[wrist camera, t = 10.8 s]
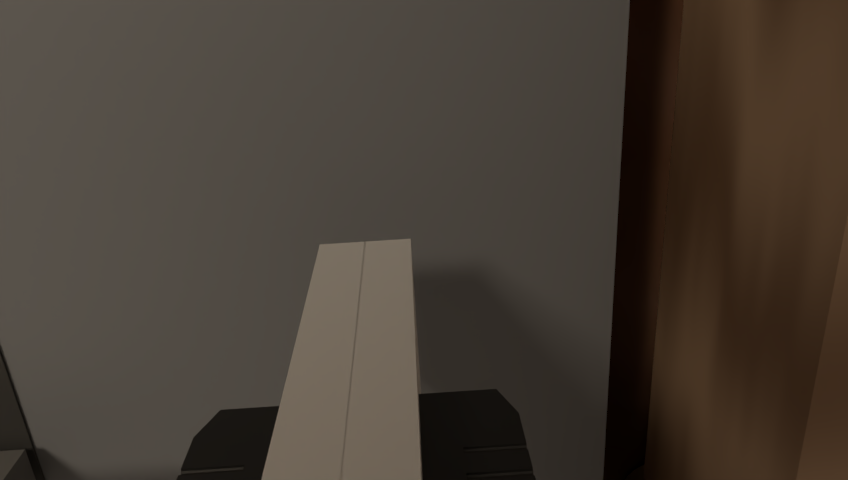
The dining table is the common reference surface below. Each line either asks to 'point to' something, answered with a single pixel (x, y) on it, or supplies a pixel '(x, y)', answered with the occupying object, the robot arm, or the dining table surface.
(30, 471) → the fader knob
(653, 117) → the dining table surface
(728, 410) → the door
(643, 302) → the dining table surface
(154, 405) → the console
